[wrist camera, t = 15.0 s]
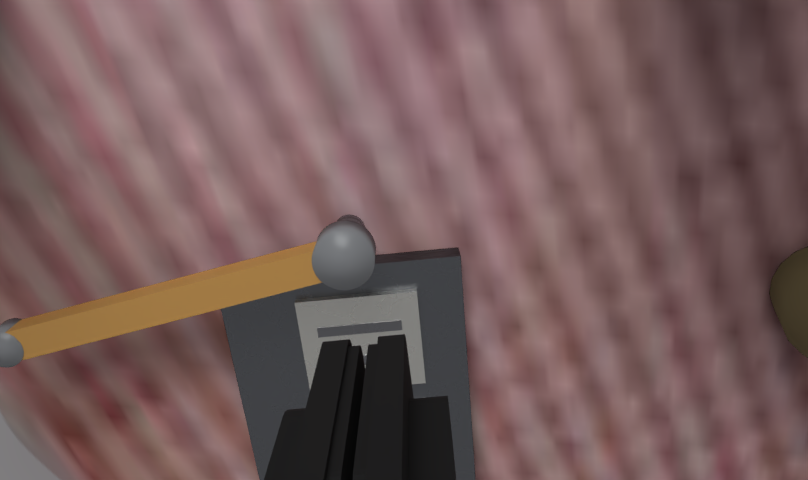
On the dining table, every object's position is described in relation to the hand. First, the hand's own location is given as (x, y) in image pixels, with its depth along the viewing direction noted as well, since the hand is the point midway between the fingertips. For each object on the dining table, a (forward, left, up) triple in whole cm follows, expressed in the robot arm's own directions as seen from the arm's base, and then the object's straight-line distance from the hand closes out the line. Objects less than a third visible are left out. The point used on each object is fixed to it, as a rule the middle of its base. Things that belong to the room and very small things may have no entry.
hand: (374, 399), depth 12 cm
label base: (+4, +16, -27) cm, 32 cm away
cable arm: (+13, +8, -24) cm, 28 cm away
